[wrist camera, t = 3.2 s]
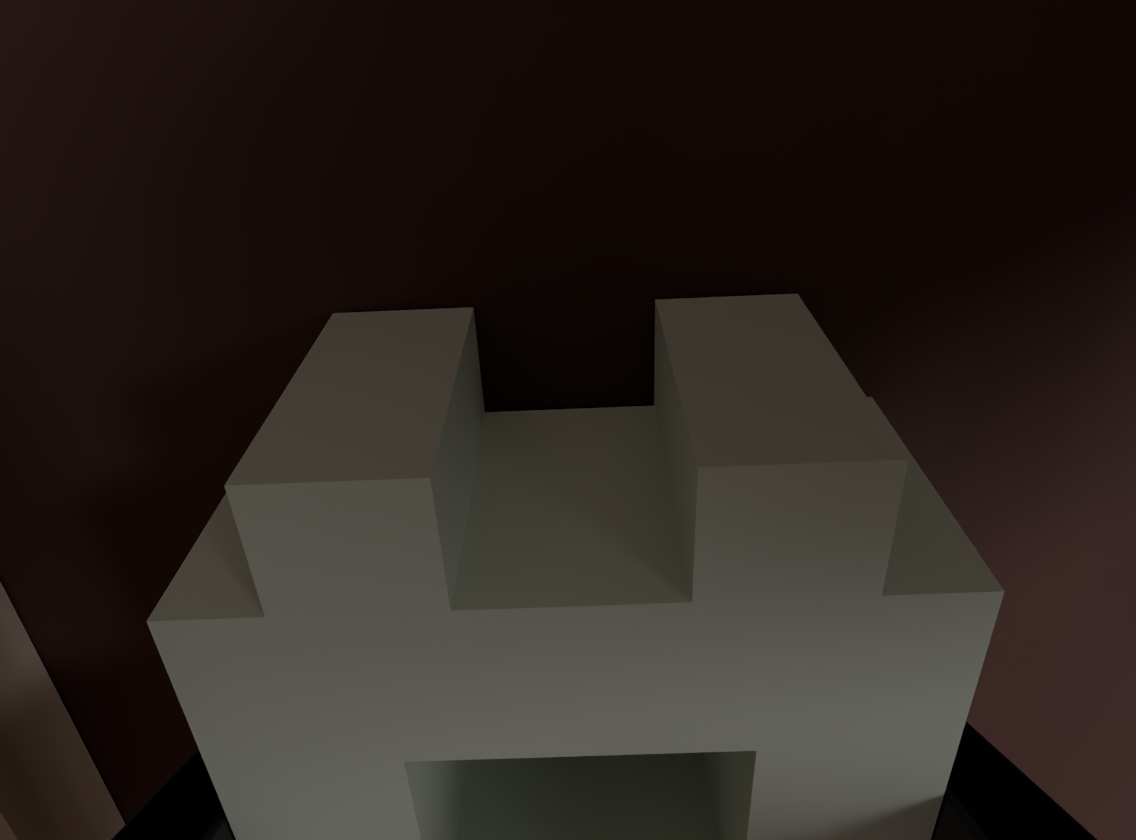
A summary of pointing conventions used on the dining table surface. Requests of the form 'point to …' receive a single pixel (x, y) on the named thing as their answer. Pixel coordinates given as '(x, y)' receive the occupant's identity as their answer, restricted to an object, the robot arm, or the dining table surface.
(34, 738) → the peg board
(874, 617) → the green gear
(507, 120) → the dining table surface
